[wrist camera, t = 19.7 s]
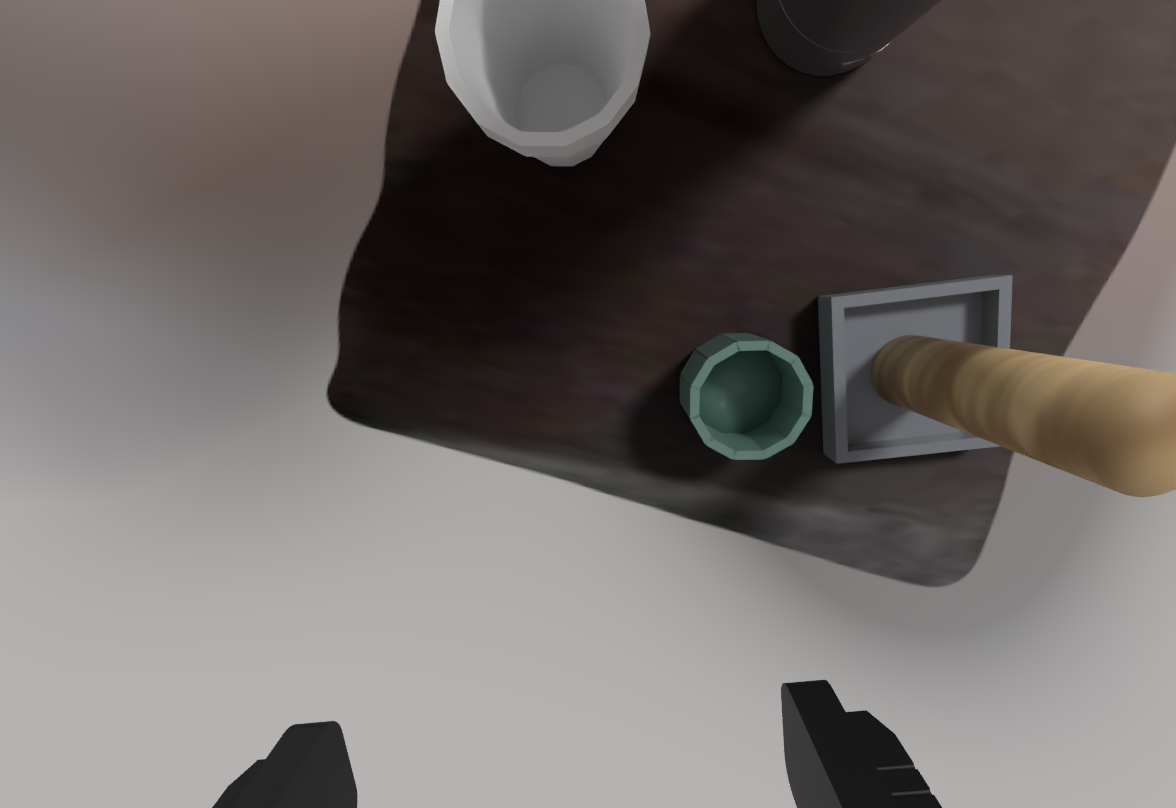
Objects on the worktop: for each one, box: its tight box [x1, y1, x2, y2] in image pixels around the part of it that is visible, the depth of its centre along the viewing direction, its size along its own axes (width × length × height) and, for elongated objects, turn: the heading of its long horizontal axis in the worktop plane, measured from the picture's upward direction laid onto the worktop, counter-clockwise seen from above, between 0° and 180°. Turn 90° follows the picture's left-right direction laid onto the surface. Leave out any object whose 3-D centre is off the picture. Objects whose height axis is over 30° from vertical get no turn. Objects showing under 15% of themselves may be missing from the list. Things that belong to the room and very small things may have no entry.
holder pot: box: [680, 333, 813, 460], centre depth 39 cm, size 8×8×5 cm
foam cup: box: [435, 0, 650, 166], centre depth 31 cm, size 10×9×13 cm
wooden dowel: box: [871, 335, 1176, 497], centre depth 31 cm, size 5×5×18 cm
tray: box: [818, 275, 1012, 464], centre depth 39 cm, size 12×12×2 cm
